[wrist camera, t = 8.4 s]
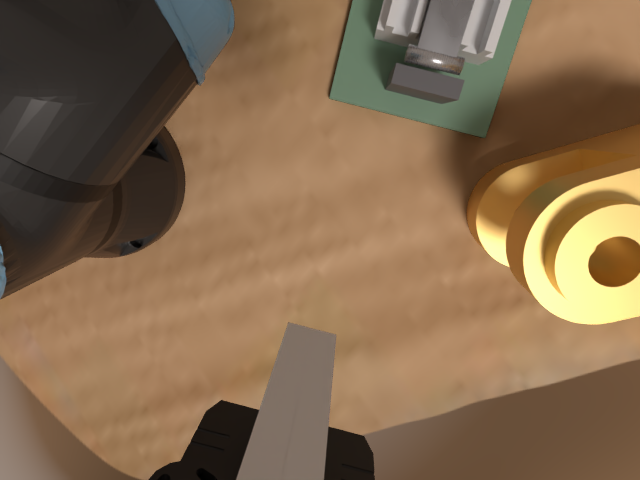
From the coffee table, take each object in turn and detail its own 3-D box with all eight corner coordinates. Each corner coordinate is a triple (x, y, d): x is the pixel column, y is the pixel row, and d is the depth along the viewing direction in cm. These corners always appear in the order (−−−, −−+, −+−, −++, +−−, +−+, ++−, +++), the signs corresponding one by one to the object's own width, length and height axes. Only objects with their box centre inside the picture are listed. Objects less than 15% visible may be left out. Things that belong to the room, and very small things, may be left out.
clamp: (478, 269, 43) (548, 350, 27) (456, 176, 41) (518, 208, 25) (702, 211, 40) (922, 266, 24) (690, 109, 38) (922, 98, 22)
